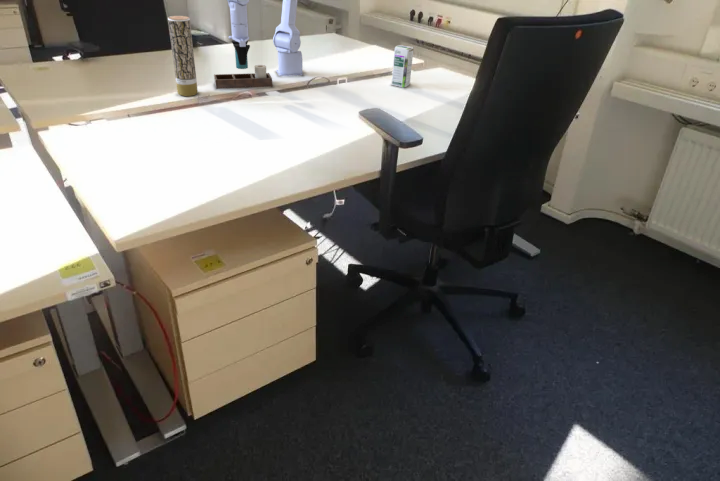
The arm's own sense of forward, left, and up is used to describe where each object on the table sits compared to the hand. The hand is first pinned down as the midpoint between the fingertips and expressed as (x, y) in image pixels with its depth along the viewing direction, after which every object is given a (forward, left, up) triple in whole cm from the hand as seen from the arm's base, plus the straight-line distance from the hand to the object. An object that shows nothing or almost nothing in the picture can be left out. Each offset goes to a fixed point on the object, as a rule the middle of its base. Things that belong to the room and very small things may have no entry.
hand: (241, 62), depth 194 cm
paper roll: (0, 0, -2) cm, 2 cm away
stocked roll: (-7, 0, -8) cm, 10 cm away
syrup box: (-60, +6, -8) cm, 61 cm away
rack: (0, 0, -8) cm, 8 cm away
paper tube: (+20, +7, -8) cm, 23 cm away
